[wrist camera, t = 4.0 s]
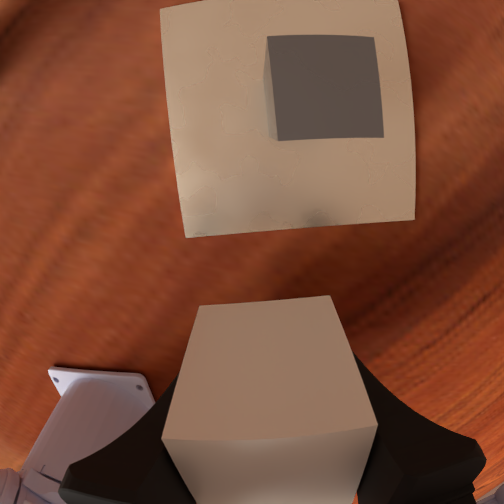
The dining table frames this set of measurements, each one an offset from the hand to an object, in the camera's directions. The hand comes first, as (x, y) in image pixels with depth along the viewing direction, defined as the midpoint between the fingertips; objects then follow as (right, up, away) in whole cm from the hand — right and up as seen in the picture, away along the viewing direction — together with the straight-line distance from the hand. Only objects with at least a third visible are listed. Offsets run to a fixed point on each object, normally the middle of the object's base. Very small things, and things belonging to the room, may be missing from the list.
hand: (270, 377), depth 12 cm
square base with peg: (+1, +11, +1) cm, 11 cm away
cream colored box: (0, +1, +2) cm, 2 cm away
